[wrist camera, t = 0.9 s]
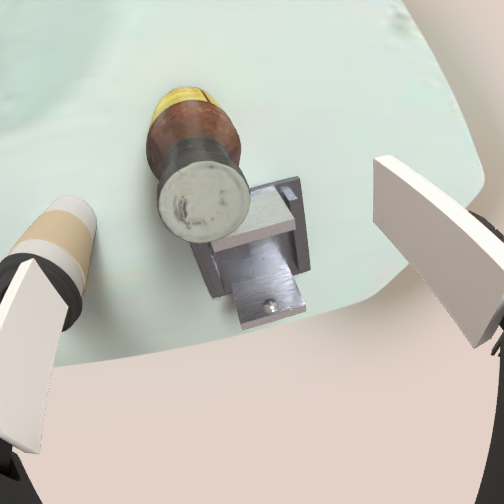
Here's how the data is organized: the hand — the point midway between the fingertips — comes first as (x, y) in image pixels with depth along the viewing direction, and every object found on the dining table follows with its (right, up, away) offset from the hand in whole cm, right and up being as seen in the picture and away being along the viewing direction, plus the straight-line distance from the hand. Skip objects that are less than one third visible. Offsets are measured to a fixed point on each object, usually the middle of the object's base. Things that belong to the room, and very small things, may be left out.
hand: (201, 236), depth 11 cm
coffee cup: (-20, +3, +22) cm, 29 cm away
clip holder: (+2, +1, +28) cm, 28 cm away
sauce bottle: (-5, +13, +18) cm, 23 cm away
